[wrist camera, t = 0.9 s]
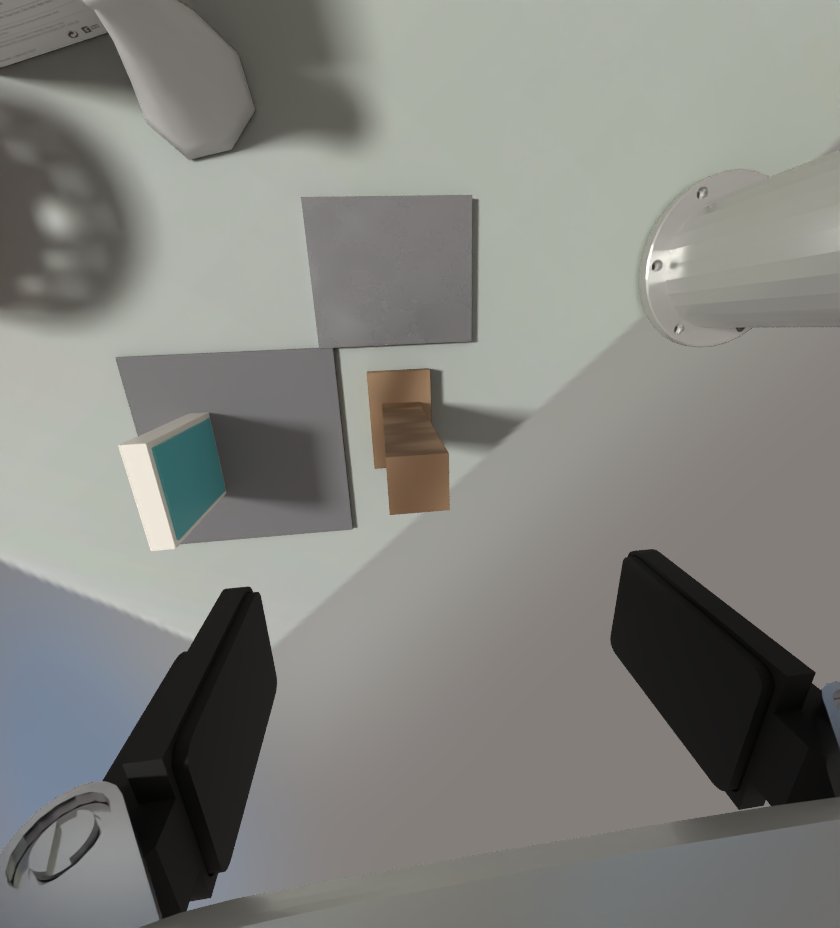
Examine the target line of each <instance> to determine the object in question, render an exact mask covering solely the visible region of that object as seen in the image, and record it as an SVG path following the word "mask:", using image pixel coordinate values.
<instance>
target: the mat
mask: <svg viewBox="0 0 840 928" xmlns="http://www.w3.org/2000/svg"><path fill="white" fill-rule="evenodd" d="M115 358H116V362H117V365H118V369H119V372H120V376H121V379H122V383H123V386H124V389H125V393H126V396H127V400H128V403H129V407H130V410H131V414H132V417H133V421H134V424H135V427H136V431H137V434H138V436H140V435H142V434H144V433H147V432H149V431H151V430H153V429H156V428H158V427H160V426H162V425H165V424H167V423H169V422H171V421H174V420H176V419H178V418H180V417H182V416H185V415H187V414H190V413H207V412H209V416H210V420H211V425H212V429H213V434H214V438H215V443H216V447H217V452H218V456H219V461H220V465H221V470H222V474H223V479H224V483H225V488H226V492H227V493H226V494H225V495H224V497H223V498H222V499H221V500H220V501H219V502H218V503H217V504H216V505H215V506H214V507H213V509H212V510H211V511H210V512H209V513H208V514H207V515H206V516H205V517H204V518H203V519H202V521H201V522H200V523H199V524H198V525H197V526H196V527H195V528H194V529H193V530H192V531H191V533H190V534H189V535H188V536H187V537H186V538H185V539H184V540H183V541H182V542H181V543H180V544H188V543H199V542H211V541H223V540H234V539H246V538H258V537H269V536H281V535H293V534H304V533H316V532H328V531H339V530H351V529H353V525H352V516H351V506H350V497H349V488H348V479H347V470H346V460H345V451H344V442H343V433H342V424H341V414H340V405H339V396H338V387H337V378H336V369H335V359H334V350H333V348H309V349H287V350H265V351H243V352H221V353H199V354H177V355H155V356H133V357H115Z"/></svg>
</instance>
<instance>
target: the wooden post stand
mask: <svg viewBox="0 0 840 928" xmlns="http://www.w3.org/2000/svg"><path fill="white" fill-rule="evenodd" d="M367 382H368V394H369V406H370V418H371V430H372V442H373V454H374V466H375V469H378V468H387V482H388V496H389V510H390V515H395V514H407V513H419V512H431V511H442V510H449V509H450V507H449V506H450V504H449V453H448V451H447V449H446V448H445V446H444V444H443V443H442V441H441V439H440V437H439V436H438V434H437V432H436V431H435V429H434V427H433V425H432V422H431V389H430V370H429V369H428V368H427V369H407V370H387V371H368V372H367Z"/></svg>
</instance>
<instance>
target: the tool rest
mask: <svg viewBox="0 0 840 928" xmlns="http://www.w3.org/2000/svg"><path fill="white" fill-rule="evenodd" d="M301 200H302V209H303V217H304V225H305V234H306V242H307V250H308V259H309V267H310V275H311V283H312V292H313V300H314V308H315V317H316V325H317V333H318V342H319V348H337V347H359V346H381V345H403V344H425V343H447V342H469V341H472V195H436V196H355V197H301Z"/></svg>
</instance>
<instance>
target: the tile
mask: <svg viewBox="0 0 840 928" xmlns="http://www.w3.org/2000/svg"><path fill="white" fill-rule="evenodd" d="M118 446H119V449H120V453H121V456H122V459H123V462H124V466H125V469H126V472H127V475H128V479H129V482H130V485H131V488H132V492H133V495H134V498H135V501H136V504H137V508H138V511H139V514H140V517H141V521H142V524H143V527H144V530H145V534H146V537H147V540H148V543H149V547H150V550H151V551H156V550H168V549H176V548H177V547H178V546H179V545H180V543H181V542H182V541H183V540H184V539H185V538H186V537H187V536H188V535H189V534H190V533H191V531H192V530H193V529H194V528H195V527H196V526H197V525H198V524H199V523H200V522H201V521H202V519H203V518H204V517H205V516H206V515H207V514H208V513H209V512H210V511H211V510H212V509H213V507H214V506H215V505H216V504H217V503H218V502H219V501H220V500H221V499H222V498H223V497H224V495H225V494H226V493H227V492H226V488H225V483H224V479H223V474H222V470H221V465H220V461H219V456H218V452H217V447H216V443H215V438H214V434H213V429H212V425H211V420H210V416H209V412H207V413H190V414H187V415H185V416H182V417H180V418H178V419H176V420H174V421H171V422H169V423H167V424H165V425H162V426H160V427H158V428H156V429H153V430H151V431H149V432H147V433H144V434H142V435H140V436H138V437H136V438H133V439H131V440H129V441H127V442H124V443H122V444H120V445H118Z"/></svg>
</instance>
